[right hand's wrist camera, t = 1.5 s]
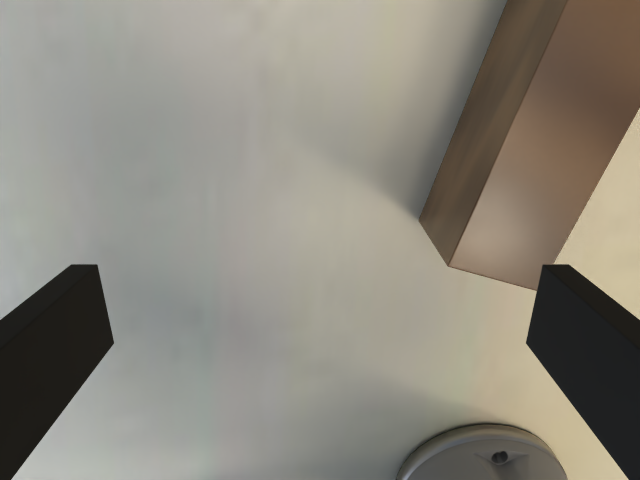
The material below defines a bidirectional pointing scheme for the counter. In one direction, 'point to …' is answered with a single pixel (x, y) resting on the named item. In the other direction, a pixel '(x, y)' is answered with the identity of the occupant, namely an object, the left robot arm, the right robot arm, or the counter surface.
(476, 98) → the bar
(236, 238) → the counter surface
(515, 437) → the right robot arm
